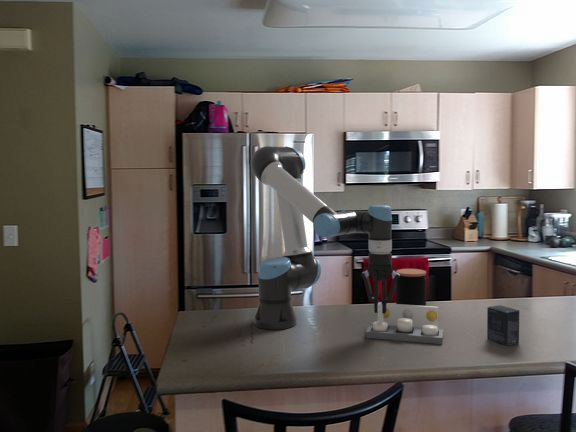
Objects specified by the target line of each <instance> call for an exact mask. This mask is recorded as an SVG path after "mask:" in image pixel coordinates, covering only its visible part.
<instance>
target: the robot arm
mask: <svg viewBox="0 0 576 432" xmlns="http://www.w3.org/2000/svg"><path fill="white" fill-rule="evenodd" d="M250 167H251V170H252V173H253V174H254V176H255V177H256V178H257V180H259V181H260V182H261V183H262V184H263V185H266V186H270V187H271V188H272V189H273V190H275V192H276V197H277V203H278V211H279V216H280V225H281V230H282V238H283V244H284V252H283V253H282V254H281V256H276V257H270V258H266V259H263V260H261V262H259V264H258V272H257V279H258V280H257V281H258V282H257V283H258V284H257V285H258V305H257V309H256V311H255V315H254V319H253V320H254V326H255V327H256V328H259V329H263V330H269V331H270V330H274V331H275V330H277V331H278V330H284V329H285V330H286V329H290V328H292V327H294V326H296V325H297V316H296V313H295V310H294V307H293V304H292V292H295V291H298V290H301V289H307V288H310V287H313V286H314V285H316V283H318V281H319V280H320V277H321V274H322V267H321V263H320V261H319V259H317V258H316V257H315V256H314V254H313V250H312V249H310V248H309V247H308V242H307V236H306V235H307V234H306V229H305V228H306V227H305V221H304V220H305V219H304V217H305V218H306V219H308V220H309V221H310V222H311V223H312V225H313V226H312V227H313V230H314V232H315V234H316V235H318V236H319V237H321V238H333V237H337V236H342V235H349V234H368V251H369V253H368V267H367V269H366V270H365V271H362V272H361V273H360V277H361V278H362V280H363V283H364V287H365V290H366V294H367V298H368V301H369V302H372V303H373V305H374V307H373V310H374V313H375V314H377V321H378V324H382V323H383V313H386V311H387V305H386V304H387V303H388V304H391V303H392V301H393V297H394V293H395V291H396V282H397V280H398V278H399V277H400V274H399V273H396V270H394V268H393V256H392V253H391V252H392V250H393V239H392V227H393V226H392V225H393V223H392V222H393V217H392V215H393V213H392V207H391V206H389V205H386V204H384V205H383V204H381V205H380V204H377V205H369V206H368V210H353V209H346V210H341V211H339V212H338V211H337V212H336V211H334V210H333V209H332V208H330V207H329V206H328V205H327V204H326V203H325V202H323V201H322V200H321V199H320V198H318V196H316V195H315V194H314V193H313V192H311V190H309V188H307V187H305V185H304V184H302V183H301V181H302V175H303V174H304V172H305V169H306V160H305V156H304V155H303V153H302V152H301V151H300V150H298V149H297V148H294V147H290V146H272V145H271V146H270V145H269V146H268V145H267V146H266V145H265V146H262V147H260V148H258V149H257V150H256V151H255V152H254V153H253V154H252V156H251V160H250ZM369 276H370V277H371V278H372V279H373V290H372V286H371V283H370V279H369ZM390 277H391V278H392V282H391V285H390V290H389V292H388V295H387V289H388V288H387V282H388V279H389V278H390ZM380 281H381V301H380Z"/></svg>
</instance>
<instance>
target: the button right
mask: <svg viewBox="0 0 576 432" xmlns="http://www.w3.org/2000/svg"><path fill="white" fill-rule="evenodd" d="M438 329H439V326H438V327H437V326H434V325H424V326H422V335H433V336H438Z"/></svg>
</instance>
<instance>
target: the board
mask: <svg viewBox="0 0 576 432" xmlns="http://www.w3.org/2000/svg"><path fill="white" fill-rule="evenodd" d="M365 338H367V339H368V338H369V339H379V340H387V341H388V340H391V341H401V342H402V341H403V342H410V343H411V342H413V343H422V344H424V343H425V344H436V345H443V342H444V329H440V328H438V336H433V335H422V328H416V327H412V331H410V332H401V331H398V330H397V326H391V325H388V332H385V331H373V323H370V324H369V326H368V327H367V329H366V331H365Z"/></svg>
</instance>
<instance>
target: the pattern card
mask: <svg viewBox="0 0 576 432" xmlns="http://www.w3.org/2000/svg"><path fill="white" fill-rule="evenodd" d="M386 305H387V311H386V313H383V322H387V323H388V325H391V326H397V319H399V318H408V319H411V320H412V327H416V328H422V326H424V325H434V326H437V327H438V328H439V306H431V305H426V306H419V305H403V304H396V303H387V304H386Z"/></svg>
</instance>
